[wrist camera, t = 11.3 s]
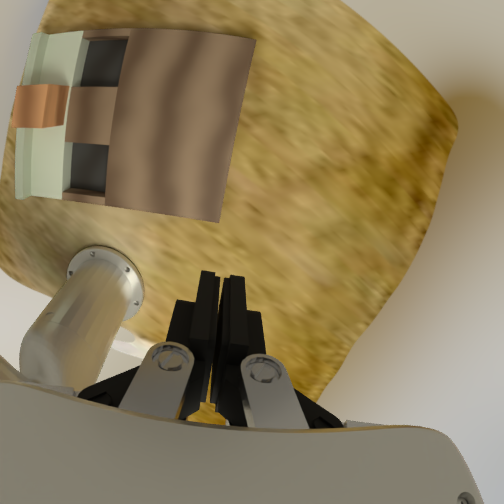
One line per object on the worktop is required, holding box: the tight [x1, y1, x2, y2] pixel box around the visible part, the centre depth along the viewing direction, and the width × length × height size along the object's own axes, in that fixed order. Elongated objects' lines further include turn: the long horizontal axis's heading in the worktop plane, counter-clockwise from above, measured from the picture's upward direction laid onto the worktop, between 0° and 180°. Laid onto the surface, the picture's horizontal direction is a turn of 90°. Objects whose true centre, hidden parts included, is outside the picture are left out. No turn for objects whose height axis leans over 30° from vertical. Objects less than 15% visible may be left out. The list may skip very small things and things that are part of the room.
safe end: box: [15, 31, 90, 200], centre depth 29 cm, size 7×22×4 cm, turn 168°
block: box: [12, 84, 70, 128], centre depth 26 cm, size 5×5×5 cm
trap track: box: [62, 28, 256, 223], centre depth 32 cm, size 21×22×2 cm
